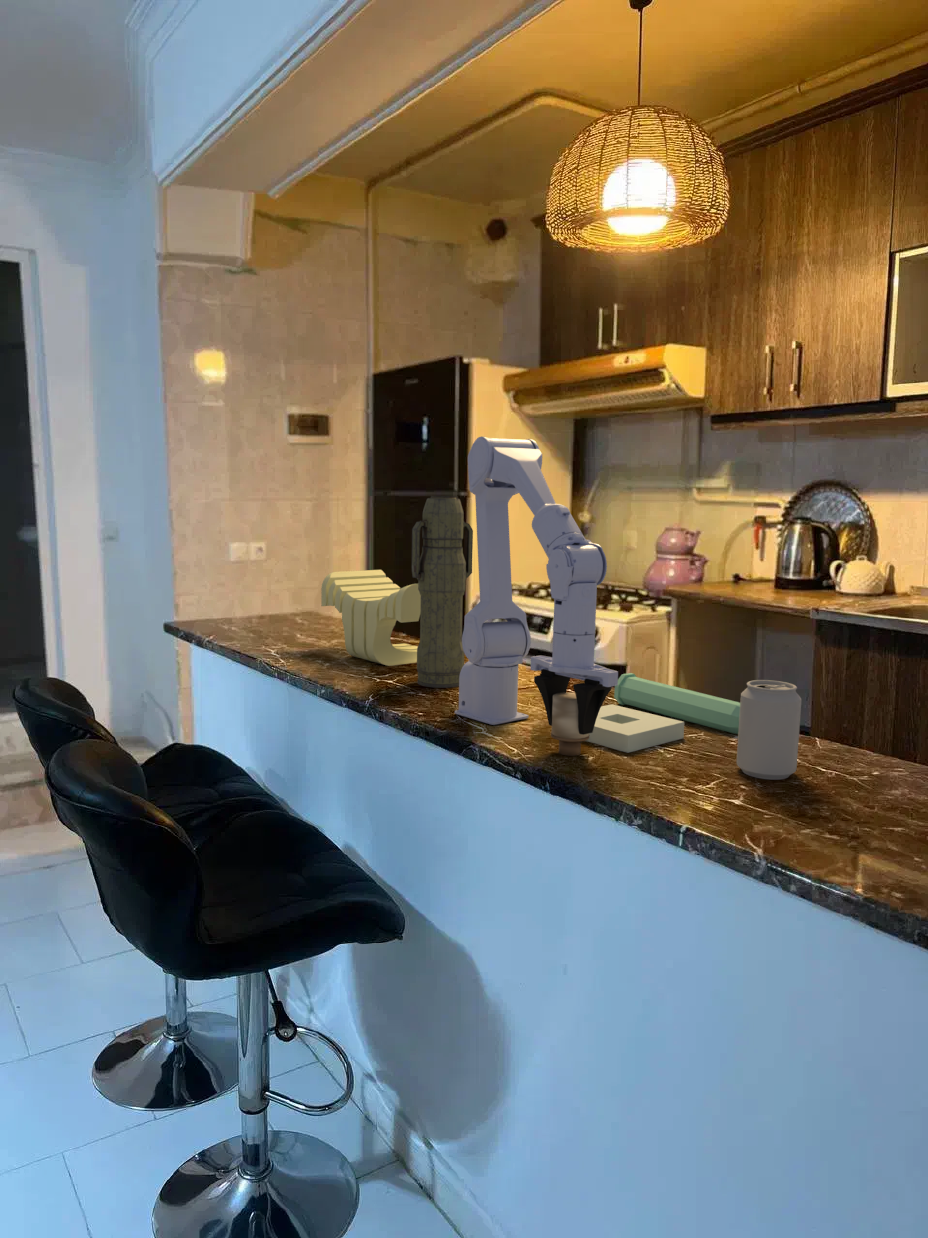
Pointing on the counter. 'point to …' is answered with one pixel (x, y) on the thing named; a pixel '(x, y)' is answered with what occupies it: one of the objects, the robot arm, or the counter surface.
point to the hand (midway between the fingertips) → (570, 728)
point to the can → (769, 729)
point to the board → (633, 729)
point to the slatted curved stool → (372, 613)
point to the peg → (566, 724)
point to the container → (678, 703)
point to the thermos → (441, 589)
